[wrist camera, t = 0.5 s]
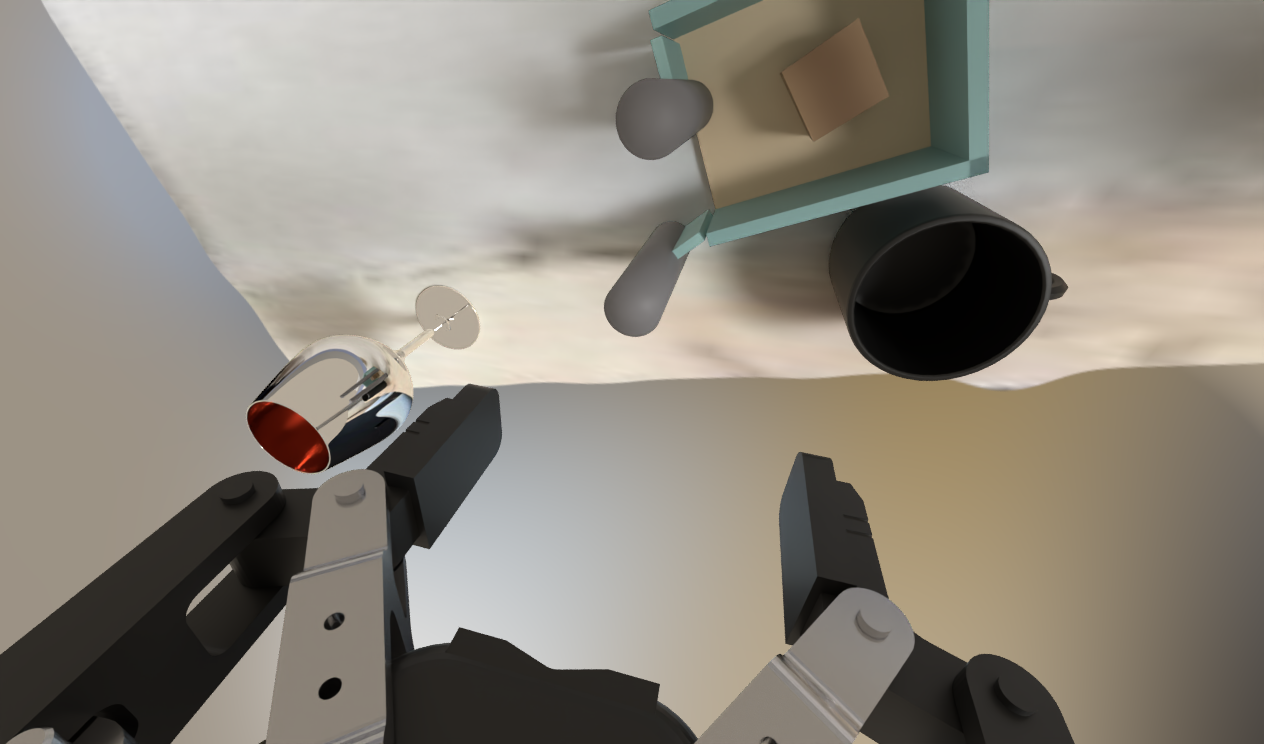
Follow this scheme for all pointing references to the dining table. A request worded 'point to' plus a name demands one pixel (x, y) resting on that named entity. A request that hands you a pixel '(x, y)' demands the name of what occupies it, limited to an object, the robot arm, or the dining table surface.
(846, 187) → the teal open box
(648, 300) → the flap far
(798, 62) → the walnut block
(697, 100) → the flap near
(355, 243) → the dining table surface
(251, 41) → the dining table surface
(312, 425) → the wineglass
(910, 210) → the mug
